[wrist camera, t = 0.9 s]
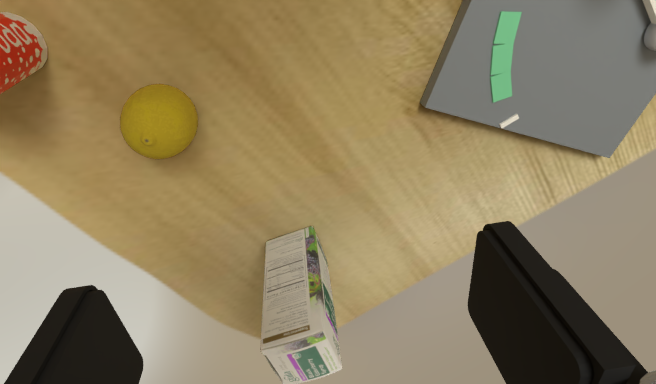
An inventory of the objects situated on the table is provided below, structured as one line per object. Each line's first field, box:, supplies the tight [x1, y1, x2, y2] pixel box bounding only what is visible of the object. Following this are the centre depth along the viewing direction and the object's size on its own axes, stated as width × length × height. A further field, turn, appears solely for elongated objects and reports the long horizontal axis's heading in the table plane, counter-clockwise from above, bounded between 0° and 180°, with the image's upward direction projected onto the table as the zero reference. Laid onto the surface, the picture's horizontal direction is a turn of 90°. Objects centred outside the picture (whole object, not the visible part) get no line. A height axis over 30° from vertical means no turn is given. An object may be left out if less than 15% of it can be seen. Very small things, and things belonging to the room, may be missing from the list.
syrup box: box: [260, 226, 342, 384], centre depth 38 cm, size 6×6×14 cm
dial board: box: [420, 0, 656, 158], centre depth 33 cm, size 24×22×2 cm
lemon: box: [120, 84, 198, 159], centre depth 31 cm, size 6×6×8 cm
